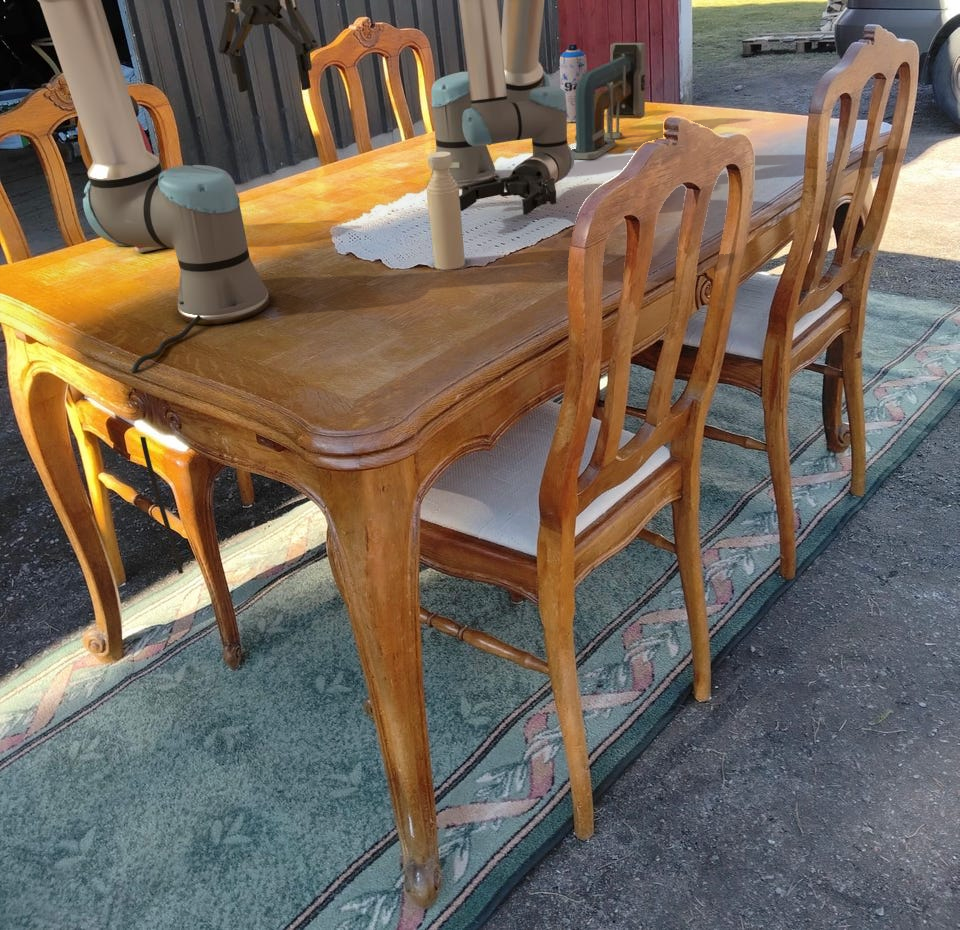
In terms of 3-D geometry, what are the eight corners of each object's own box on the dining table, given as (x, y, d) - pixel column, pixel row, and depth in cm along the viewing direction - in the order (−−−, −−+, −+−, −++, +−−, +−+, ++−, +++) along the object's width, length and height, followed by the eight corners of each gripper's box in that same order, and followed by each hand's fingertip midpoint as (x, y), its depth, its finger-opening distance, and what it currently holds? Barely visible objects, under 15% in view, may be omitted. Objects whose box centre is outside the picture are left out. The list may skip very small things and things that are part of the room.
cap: (456, 165, 168) (455, 153, 167) (438, 170, 166) (437, 158, 165) (442, 162, 171) (440, 150, 170) (424, 167, 169) (423, 155, 168)
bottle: (471, 263, 177) (462, 155, 167) (447, 272, 174) (437, 162, 164) (451, 257, 181) (441, 151, 171) (428, 265, 178) (416, 158, 168)
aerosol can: (559, 122, 275) (557, 47, 265) (562, 117, 282) (559, 42, 272) (587, 121, 274) (585, 45, 263) (589, 115, 280) (587, 41, 270)
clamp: (593, 159, 236) (592, 66, 225) (561, 158, 240) (558, 66, 229) (644, 127, 261) (645, 42, 251) (614, 126, 265) (613, 43, 254)
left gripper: (324, -35, 182) (340, 84, 193) (205, -27, 188) (227, 88, 199) (308, -32, 176) (325, 91, 186) (186, -24, 182) (209, 95, 193)
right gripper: (590, 197, 198) (553, 229, 182) (481, 192, 208) (436, 221, 192) (590, 160, 195) (552, 189, 178) (478, 156, 204) (432, 183, 188)
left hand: (275, 90), depth 193 cm, fingers open, 13 cm apart
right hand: (491, 206), depth 185 cm, fingers open, 13 cm apart
